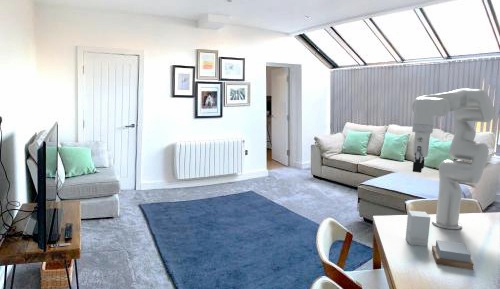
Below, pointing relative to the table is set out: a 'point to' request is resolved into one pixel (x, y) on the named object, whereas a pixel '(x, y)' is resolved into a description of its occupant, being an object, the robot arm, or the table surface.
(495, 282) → the table surface
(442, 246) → the slate grey slab
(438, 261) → the walnut base slab
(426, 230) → the supplement box
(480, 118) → the robot arm
